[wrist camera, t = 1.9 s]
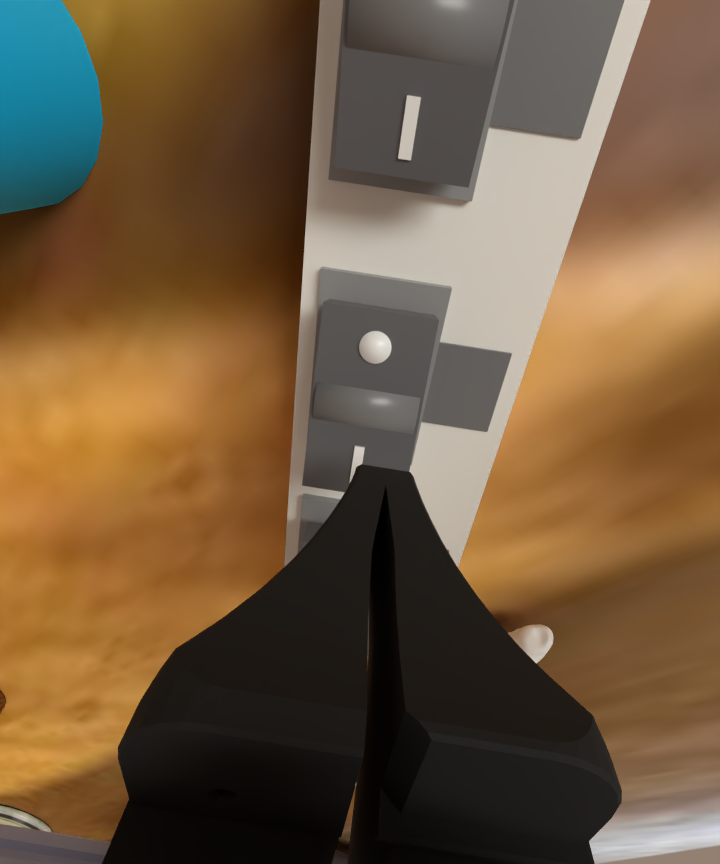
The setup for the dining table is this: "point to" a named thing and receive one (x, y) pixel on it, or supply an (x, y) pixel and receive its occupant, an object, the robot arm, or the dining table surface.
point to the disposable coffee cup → (2, 702)
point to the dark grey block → (418, 85)
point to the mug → (44, 105)
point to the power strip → (461, 243)
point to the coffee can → (21, 819)
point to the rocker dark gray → (366, 390)
